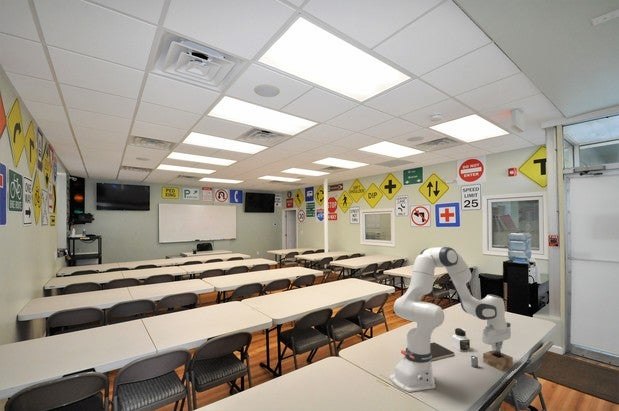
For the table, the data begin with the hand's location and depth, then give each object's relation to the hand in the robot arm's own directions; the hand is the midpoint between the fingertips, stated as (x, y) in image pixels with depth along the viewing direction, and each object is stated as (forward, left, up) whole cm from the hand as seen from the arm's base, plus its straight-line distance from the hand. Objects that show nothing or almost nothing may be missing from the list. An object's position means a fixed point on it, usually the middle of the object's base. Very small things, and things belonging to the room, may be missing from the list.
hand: (497, 349), depth 154 cm
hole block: (0, 0, -8) cm, 8 cm away
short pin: (-14, +4, -8) cm, 17 cm away
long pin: (0, 0, -5) cm, 5 cm away
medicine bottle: (-1, +22, -9) cm, 23 cm away
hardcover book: (-24, +26, -9) cm, 36 cm away
